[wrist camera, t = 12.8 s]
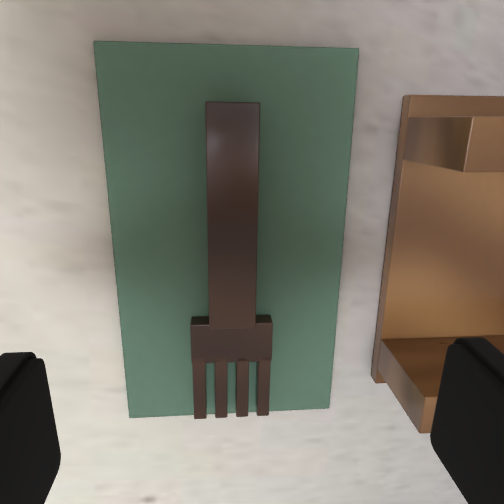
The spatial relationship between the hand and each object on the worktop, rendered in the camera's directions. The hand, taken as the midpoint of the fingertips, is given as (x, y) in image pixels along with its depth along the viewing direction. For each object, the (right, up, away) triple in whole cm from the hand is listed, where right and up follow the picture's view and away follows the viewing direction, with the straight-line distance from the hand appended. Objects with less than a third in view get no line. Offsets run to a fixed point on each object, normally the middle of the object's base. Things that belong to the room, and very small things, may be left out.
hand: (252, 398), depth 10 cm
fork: (-1, +2, +12) cm, 13 cm away
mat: (-1, +3, +12) cm, 13 cm away
